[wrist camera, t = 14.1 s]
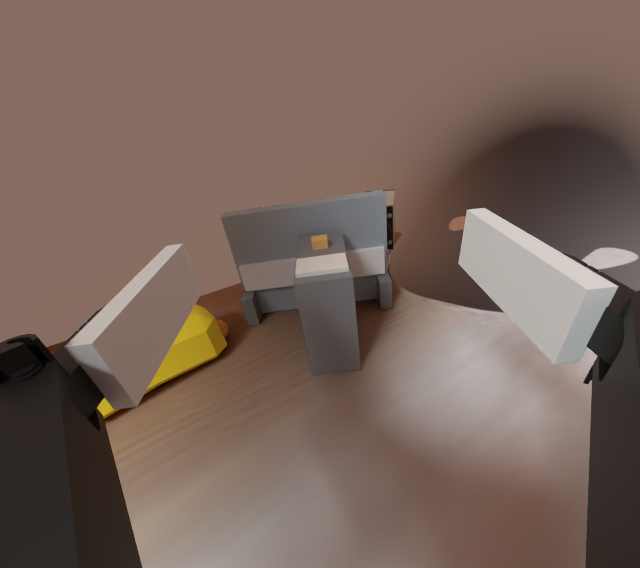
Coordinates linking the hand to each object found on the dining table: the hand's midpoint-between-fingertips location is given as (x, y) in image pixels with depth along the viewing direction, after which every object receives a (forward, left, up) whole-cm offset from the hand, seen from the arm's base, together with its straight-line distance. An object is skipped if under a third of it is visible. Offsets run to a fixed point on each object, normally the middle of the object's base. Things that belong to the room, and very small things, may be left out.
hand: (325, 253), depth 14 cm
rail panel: (-2, +20, -17) cm, 26 cm away
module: (-1, +14, -17) cm, 22 cm away
